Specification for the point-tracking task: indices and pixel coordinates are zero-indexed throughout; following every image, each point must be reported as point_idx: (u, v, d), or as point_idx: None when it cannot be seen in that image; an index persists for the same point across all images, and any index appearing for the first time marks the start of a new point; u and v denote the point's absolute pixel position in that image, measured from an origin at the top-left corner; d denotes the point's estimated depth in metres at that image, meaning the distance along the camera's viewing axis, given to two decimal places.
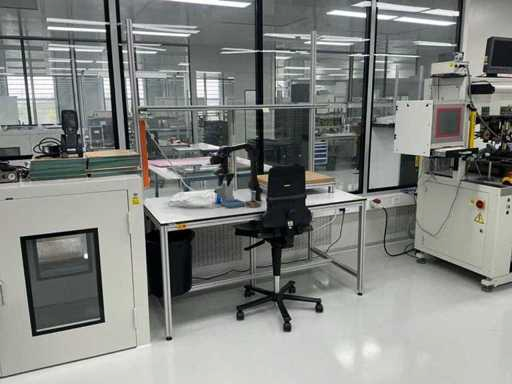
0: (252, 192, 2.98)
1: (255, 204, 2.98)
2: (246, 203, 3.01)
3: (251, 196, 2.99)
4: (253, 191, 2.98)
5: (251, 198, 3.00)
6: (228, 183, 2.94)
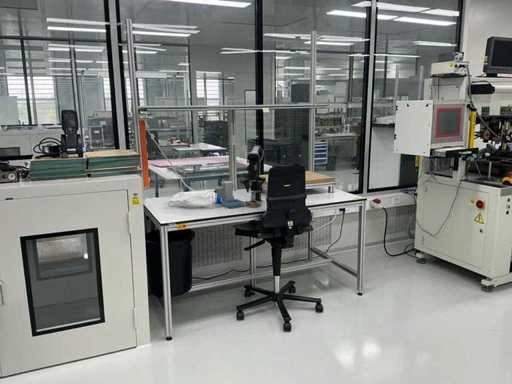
0: (252, 192, 2.98)
1: (255, 204, 2.98)
2: (246, 203, 3.01)
3: (251, 196, 2.99)
4: (253, 191, 2.99)
5: (251, 198, 3.00)
6: (246, 189, 2.96)
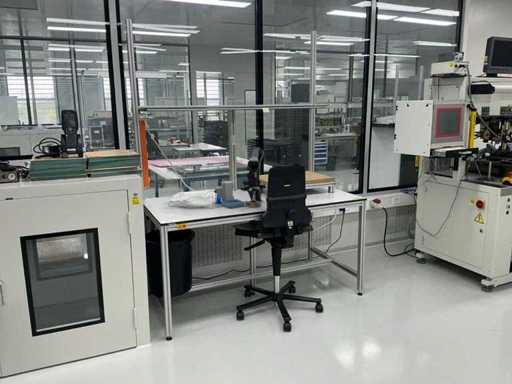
0: None
1: (255, 204, 2.98)
2: (246, 203, 3.01)
3: None
4: (253, 191, 2.98)
5: None
6: (250, 196, 2.99)
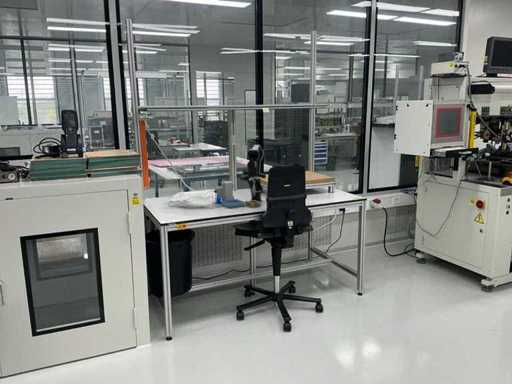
0: None
1: (255, 204, 2.98)
2: (246, 203, 3.01)
3: None
4: (253, 181, 2.97)
5: None
6: (250, 185, 2.97)
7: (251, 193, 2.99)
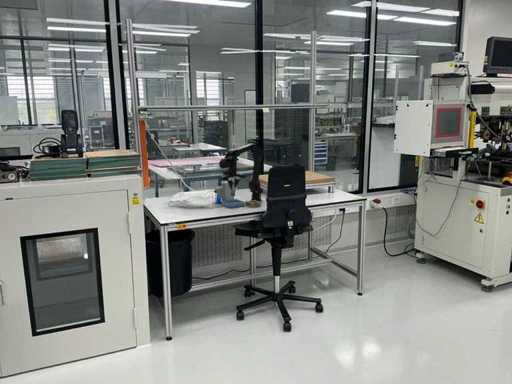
0: (232, 182, 2.97)
1: (255, 204, 2.98)
2: (246, 203, 3.01)
3: None
4: (233, 181, 2.97)
5: None
6: (229, 185, 2.98)
7: (231, 193, 2.99)
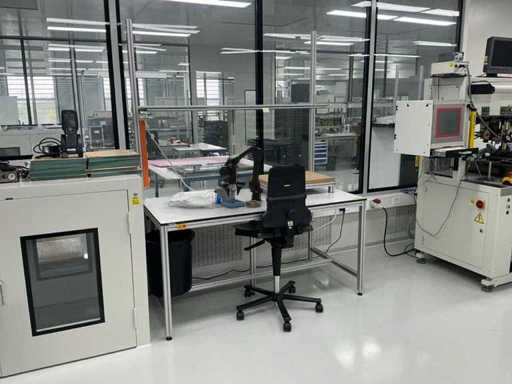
0: (232, 190, 2.98)
1: (255, 204, 2.98)
2: (246, 203, 3.01)
3: (231, 194, 3.00)
4: (233, 189, 2.99)
5: (231, 196, 3.00)
6: (227, 193, 2.98)
7: (231, 202, 3.01)
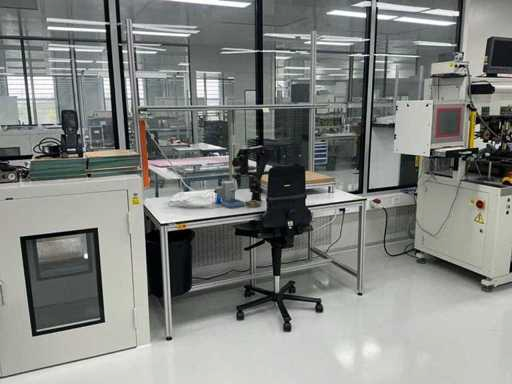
0: (232, 190, 2.98)
1: (255, 204, 2.98)
2: (246, 203, 3.01)
3: (231, 194, 3.00)
4: (233, 189, 2.99)
5: (231, 196, 3.00)
6: (238, 184, 3.03)
7: (231, 202, 3.01)
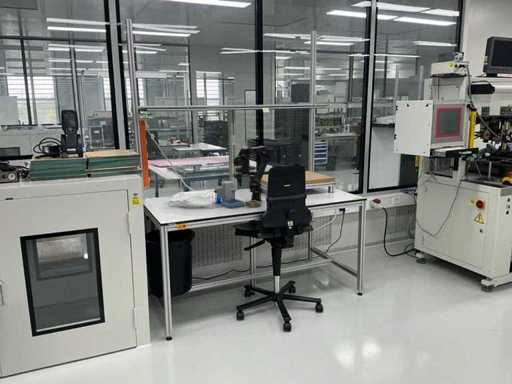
0: (232, 190, 2.98)
1: (255, 204, 2.98)
2: (246, 203, 3.01)
3: (231, 194, 3.00)
4: (233, 189, 2.99)
5: (231, 196, 3.00)
6: (239, 183, 3.03)
7: (231, 202, 3.01)
